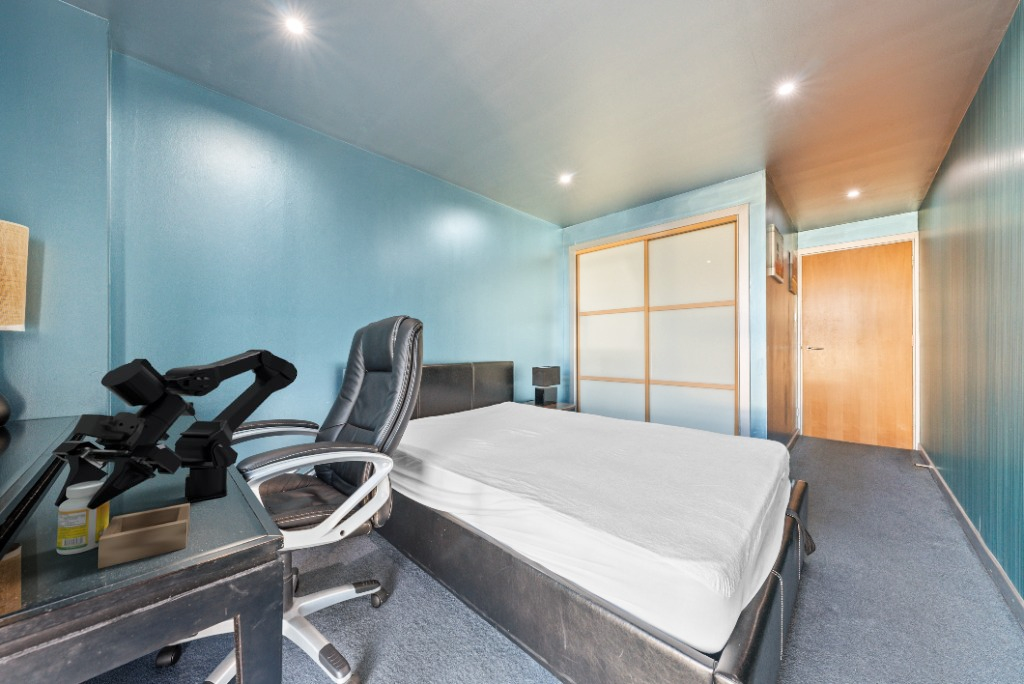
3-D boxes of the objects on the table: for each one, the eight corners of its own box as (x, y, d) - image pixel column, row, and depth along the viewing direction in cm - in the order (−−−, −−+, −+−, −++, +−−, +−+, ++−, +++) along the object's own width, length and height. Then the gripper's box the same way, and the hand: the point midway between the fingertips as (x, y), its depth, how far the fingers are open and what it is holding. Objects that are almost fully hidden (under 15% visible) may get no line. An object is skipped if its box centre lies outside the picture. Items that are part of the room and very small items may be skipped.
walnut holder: (189, 525, 66) (190, 502, 67) (185, 547, 59) (186, 521, 59) (112, 542, 61) (113, 516, 61) (97, 568, 53) (98, 539, 53)
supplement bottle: (64, 559, 56) (67, 493, 56) (50, 551, 58) (52, 487, 58) (115, 542, 61) (117, 481, 61) (99, 535, 63) (101, 477, 63)
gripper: (69, 393, 65) (-33, 480, 54) (166, 395, 63) (82, 485, 52) (119, 430, 72) (39, 512, 61) (208, 433, 70) (142, 518, 59)
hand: (73, 507), depth 58 cm, fingers closed on supplement bottle, 5 cm apart
